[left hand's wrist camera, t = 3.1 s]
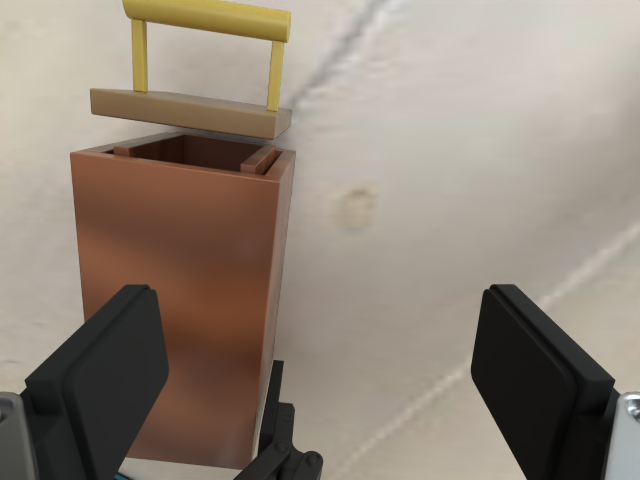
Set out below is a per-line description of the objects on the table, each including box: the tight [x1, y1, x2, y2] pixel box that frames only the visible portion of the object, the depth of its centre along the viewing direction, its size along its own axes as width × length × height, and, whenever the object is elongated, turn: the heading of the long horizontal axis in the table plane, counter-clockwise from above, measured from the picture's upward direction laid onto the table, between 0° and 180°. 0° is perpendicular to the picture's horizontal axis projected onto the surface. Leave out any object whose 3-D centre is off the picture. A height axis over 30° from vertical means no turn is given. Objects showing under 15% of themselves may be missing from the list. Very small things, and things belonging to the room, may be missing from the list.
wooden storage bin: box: [70, 133, 296, 470], centre depth 27 cm, size 20×10×12 cm, turn 172°
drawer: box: [90, 0, 292, 176], centre depth 25 cm, size 24×9×10 cm, turn 172°
